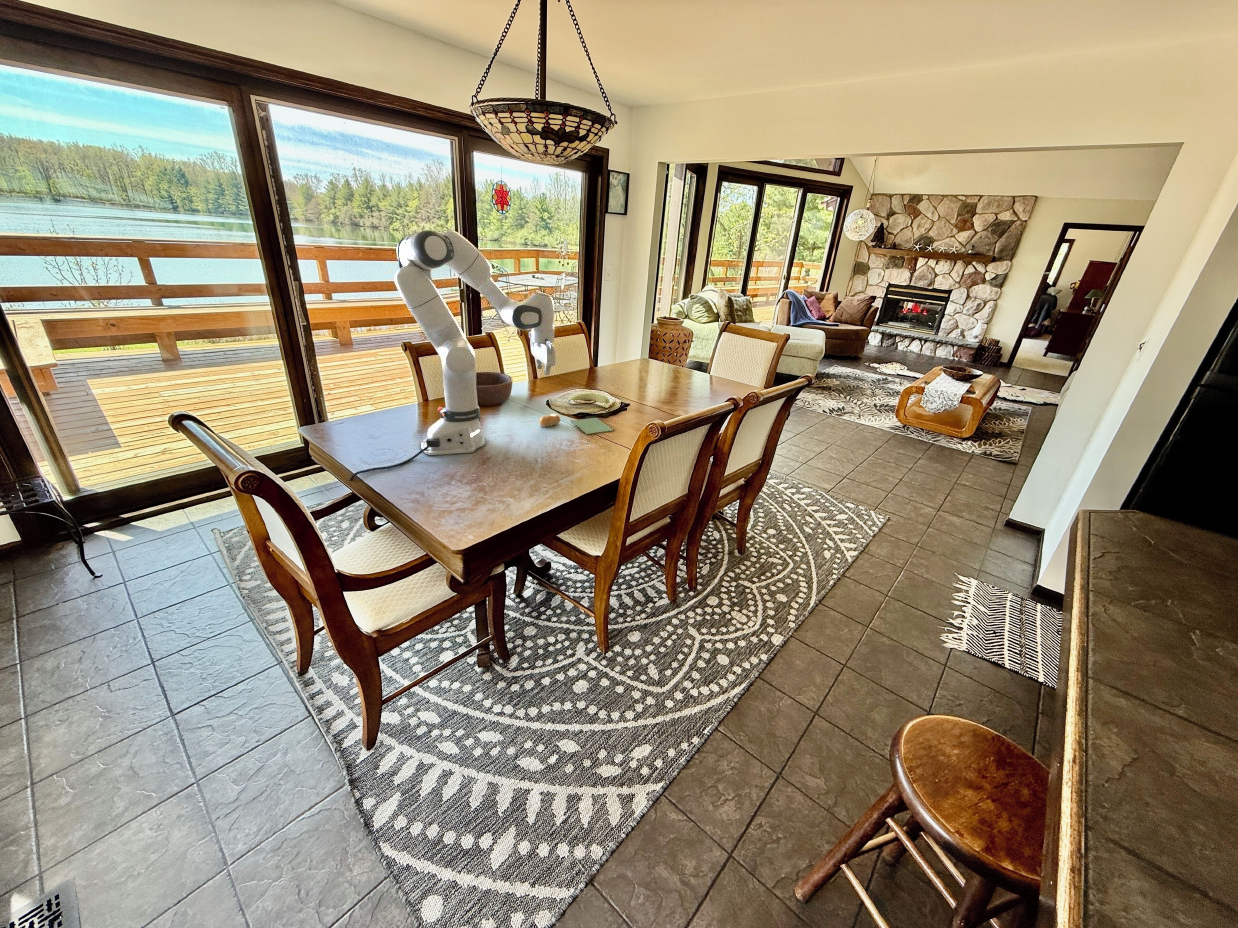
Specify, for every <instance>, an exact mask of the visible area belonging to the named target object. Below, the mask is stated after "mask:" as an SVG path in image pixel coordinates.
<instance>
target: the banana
mask: <svg viewBox="0 0 1238 928" xmlns="http://www.w3.org/2000/svg"><path fill="white" fill-rule="evenodd" d="M569 400H592V401H596V402H600V403H606V404H607V403H610V398H608V397H607V396H605V395H603V394H601V393H596V392H582V393H579V394H578V393H577V394H576V395H573V396H572V397H571V398H570V399H569ZM605 412H606V413H609V412H610V409H609V410H608V411H606V410H605Z"/></svg>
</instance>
